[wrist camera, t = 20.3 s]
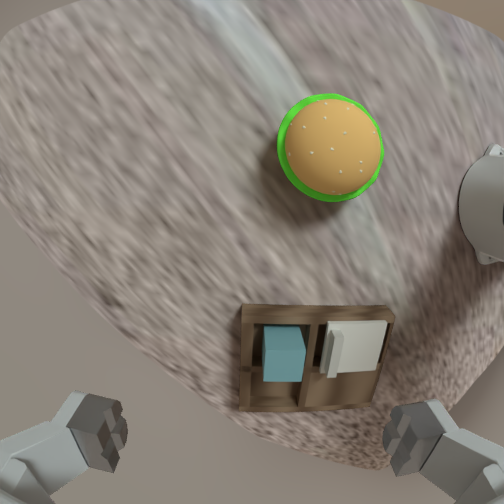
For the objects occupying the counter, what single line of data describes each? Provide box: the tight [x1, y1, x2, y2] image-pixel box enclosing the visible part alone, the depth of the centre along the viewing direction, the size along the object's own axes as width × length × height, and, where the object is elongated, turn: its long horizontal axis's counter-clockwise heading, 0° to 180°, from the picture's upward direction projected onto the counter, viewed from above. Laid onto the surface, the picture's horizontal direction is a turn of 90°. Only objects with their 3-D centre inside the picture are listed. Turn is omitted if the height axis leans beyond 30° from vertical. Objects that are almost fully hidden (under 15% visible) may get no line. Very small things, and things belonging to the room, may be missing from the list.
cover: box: [319, 320, 387, 378], centre depth 37 cm, size 8×8×3 cm
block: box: [262, 324, 306, 382], centre depth 37 cm, size 4×4×7 cm
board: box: [239, 304, 395, 412], centre depth 41 cm, size 20×16×4 cm
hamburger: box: [277, 94, 384, 202], centre depth 31 cm, size 12×12×9 cm
